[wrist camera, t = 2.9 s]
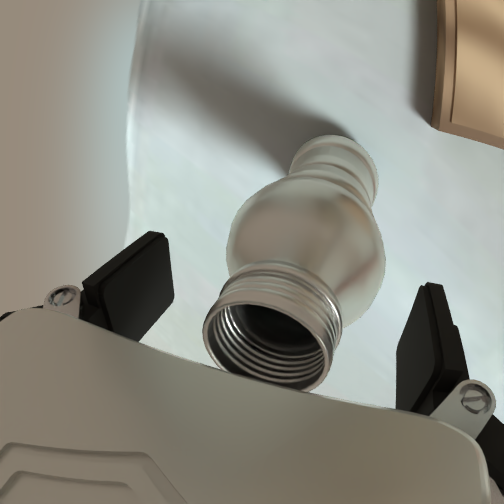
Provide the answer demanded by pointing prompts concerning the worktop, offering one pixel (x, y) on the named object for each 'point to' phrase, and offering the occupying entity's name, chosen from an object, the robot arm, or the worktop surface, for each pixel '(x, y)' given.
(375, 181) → the plastic bottle
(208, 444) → the robot arm
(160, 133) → the worktop surface
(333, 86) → the worktop surface
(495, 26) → the plinth
